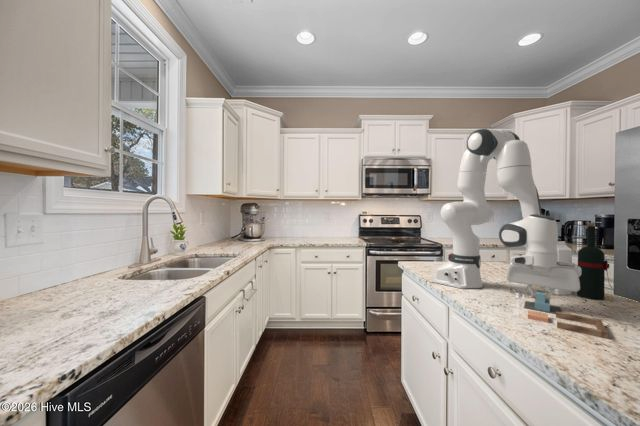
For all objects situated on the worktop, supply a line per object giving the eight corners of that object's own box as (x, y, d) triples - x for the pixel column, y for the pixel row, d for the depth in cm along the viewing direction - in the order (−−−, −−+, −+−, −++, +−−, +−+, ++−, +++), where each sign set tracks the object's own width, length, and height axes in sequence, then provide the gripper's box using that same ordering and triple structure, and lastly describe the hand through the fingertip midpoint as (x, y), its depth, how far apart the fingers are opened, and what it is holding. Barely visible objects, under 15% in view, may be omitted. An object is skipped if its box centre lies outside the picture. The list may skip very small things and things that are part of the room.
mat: (523, 309, 95) (523, 308, 95) (525, 301, 102) (525, 300, 102) (561, 316, 88) (561, 315, 88) (560, 308, 96) (560, 307, 96)
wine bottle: (613, 303, 102) (614, 224, 101) (576, 296, 109) (577, 223, 109) (612, 298, 107) (614, 223, 107) (577, 292, 114) (578, 222, 114)
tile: (527, 320, 86) (527, 314, 86) (528, 316, 90) (528, 310, 90) (548, 325, 83) (548, 318, 82) (547, 320, 86) (548, 314, 86)
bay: (557, 329, 79) (557, 322, 79) (555, 317, 87) (556, 311, 87) (607, 340, 72) (607, 332, 72) (600, 326, 81) (600, 319, 81)
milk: (545, 290, 117) (545, 240, 117) (558, 290, 117) (558, 240, 117) (558, 295, 111) (558, 242, 111) (572, 294, 111) (572, 242, 111)
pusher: (534, 309, 94) (534, 293, 94) (535, 303, 99) (535, 288, 99) (549, 311, 91) (549, 295, 91) (549, 306, 97) (549, 291, 97)
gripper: (580, 262, 91) (580, 302, 91) (507, 255, 104) (507, 290, 105) (582, 265, 86) (582, 308, 87) (505, 257, 100) (505, 294, 100)
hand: (540, 298), depth 96 cm, fingers closed on pusher, 2 cm apart
